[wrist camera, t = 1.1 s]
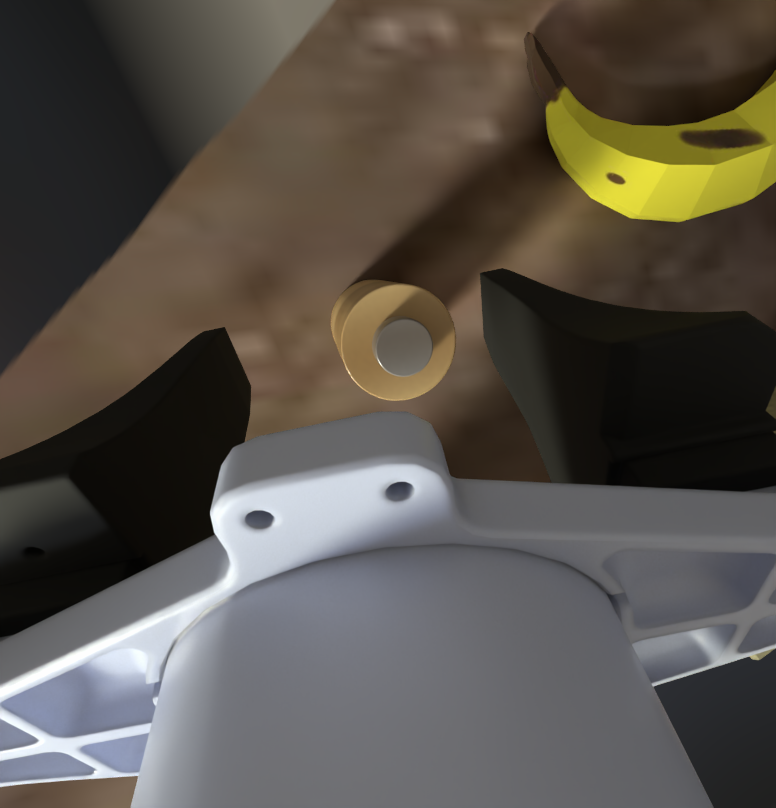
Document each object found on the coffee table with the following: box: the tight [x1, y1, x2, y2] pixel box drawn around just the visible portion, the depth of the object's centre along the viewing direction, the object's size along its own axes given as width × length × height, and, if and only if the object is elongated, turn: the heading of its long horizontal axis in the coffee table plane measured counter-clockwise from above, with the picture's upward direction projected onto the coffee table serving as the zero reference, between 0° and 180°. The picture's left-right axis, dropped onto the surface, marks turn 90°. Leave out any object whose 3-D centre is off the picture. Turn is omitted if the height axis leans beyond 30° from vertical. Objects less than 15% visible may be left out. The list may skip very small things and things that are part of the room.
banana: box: [524, 32, 776, 222], centre depth 24 cm, size 5×17×15 cm
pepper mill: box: [331, 280, 456, 401], centre depth 22 cm, size 5×5×9 cm
